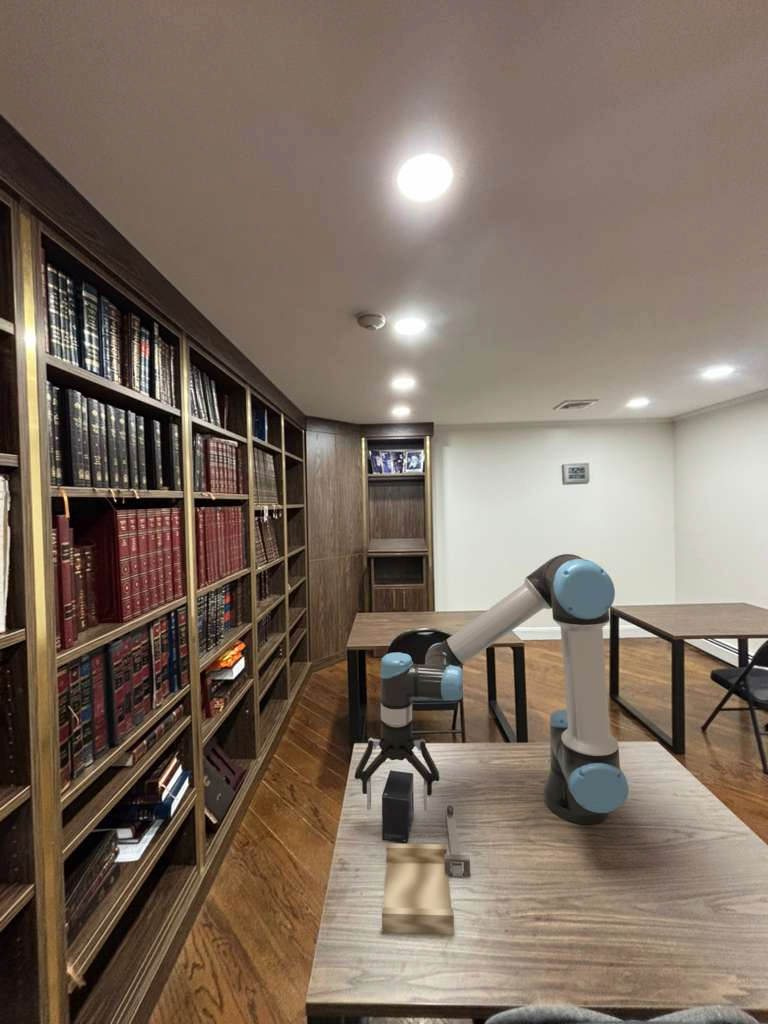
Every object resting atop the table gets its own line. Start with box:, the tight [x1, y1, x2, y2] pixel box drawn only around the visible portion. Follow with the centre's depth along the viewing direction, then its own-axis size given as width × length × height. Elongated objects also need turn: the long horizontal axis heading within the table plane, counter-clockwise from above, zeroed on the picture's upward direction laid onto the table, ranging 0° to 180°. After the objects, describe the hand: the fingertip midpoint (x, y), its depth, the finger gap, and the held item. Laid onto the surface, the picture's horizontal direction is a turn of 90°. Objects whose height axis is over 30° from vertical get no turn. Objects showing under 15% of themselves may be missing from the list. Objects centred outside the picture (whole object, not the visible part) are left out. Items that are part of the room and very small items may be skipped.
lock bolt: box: [444, 804, 464, 878], centre depth 100 cm, size 2×18×3 cm, turn 177°
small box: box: [381, 769, 415, 844], centre depth 106 cm, size 11×6×10 cm, turn 168°
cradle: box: [381, 843, 471, 935], centre depth 88 cm, size 18×16×4 cm
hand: (397, 806), depth 106 cm, fingers open, 13 cm apart
